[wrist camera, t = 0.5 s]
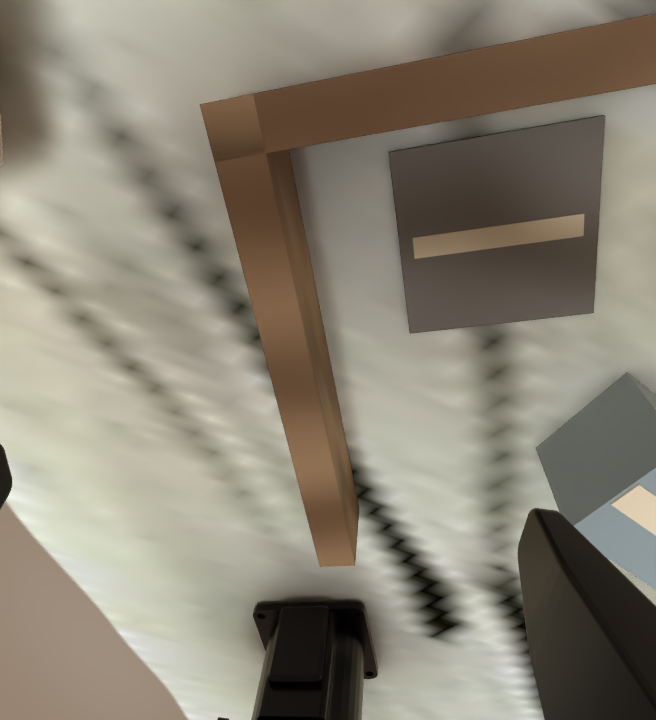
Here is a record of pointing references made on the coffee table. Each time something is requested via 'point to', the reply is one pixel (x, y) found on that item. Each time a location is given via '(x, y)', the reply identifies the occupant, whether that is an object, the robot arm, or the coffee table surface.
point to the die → (0, 149)
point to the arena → (423, 215)
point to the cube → (610, 475)
